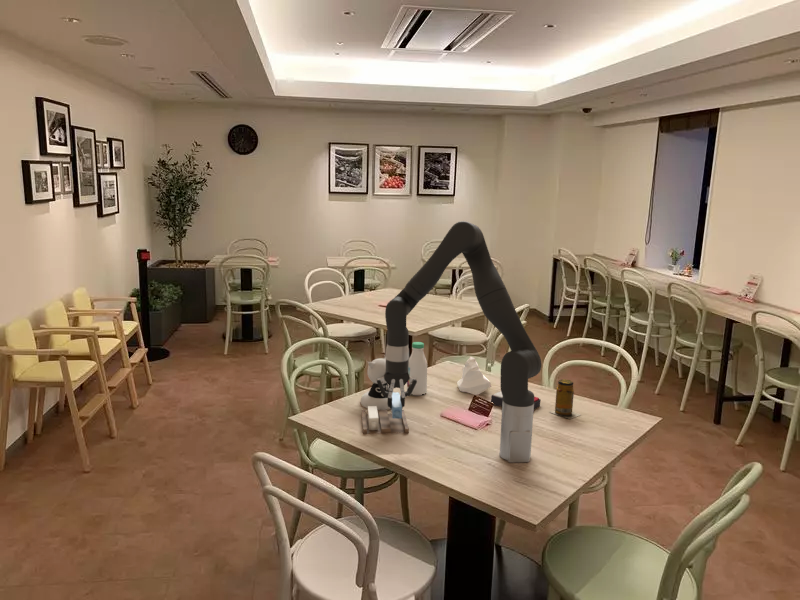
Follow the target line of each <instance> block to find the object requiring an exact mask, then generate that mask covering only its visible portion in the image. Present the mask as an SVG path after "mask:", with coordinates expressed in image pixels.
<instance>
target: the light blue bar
mask: <svg viewBox="0 0 800 600" xmlns="http://www.w3.org/2000/svg"><path fill="white" fill-rule="evenodd" d="M393 392H394V393H392V409H390V410H391V414H392V418H397V419H399V418H402V410H403V409H402V404H401V400H400V396H401V393H400V391H399V392H397V391H396V392H395V391H393Z"/></svg>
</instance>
